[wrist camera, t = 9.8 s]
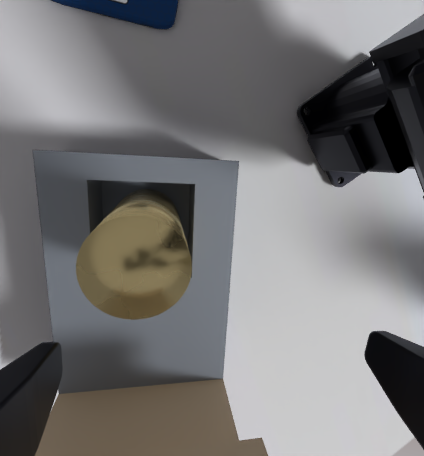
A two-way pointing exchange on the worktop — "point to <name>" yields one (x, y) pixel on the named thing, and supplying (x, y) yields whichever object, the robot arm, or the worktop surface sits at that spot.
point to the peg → (136, 258)
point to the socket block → (142, 328)
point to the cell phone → (131, 10)
